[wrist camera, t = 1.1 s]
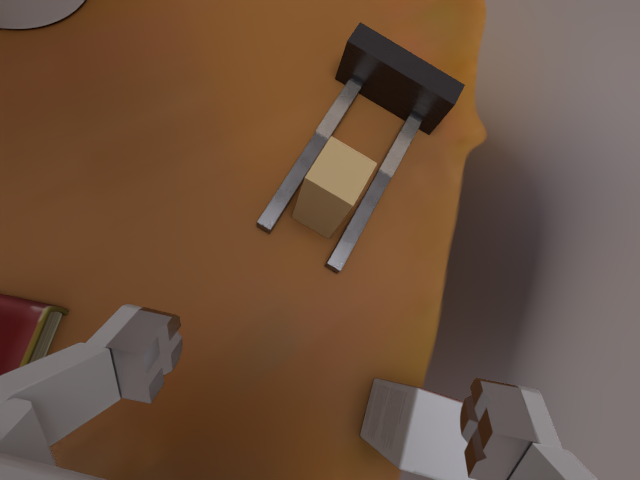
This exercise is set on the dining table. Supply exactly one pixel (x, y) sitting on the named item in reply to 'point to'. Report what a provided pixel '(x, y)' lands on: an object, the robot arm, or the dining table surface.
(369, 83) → the pallet fork attachment
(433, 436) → the small box
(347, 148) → the tall tan pillar block
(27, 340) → the hardcover book
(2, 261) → the dining table surface
